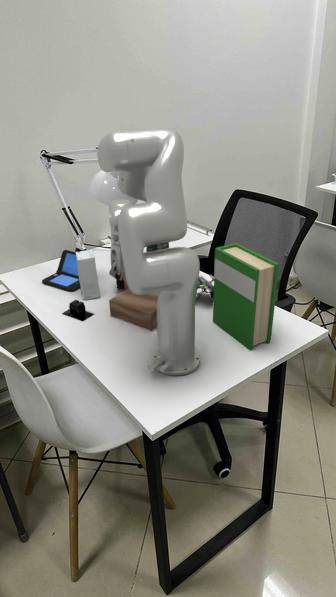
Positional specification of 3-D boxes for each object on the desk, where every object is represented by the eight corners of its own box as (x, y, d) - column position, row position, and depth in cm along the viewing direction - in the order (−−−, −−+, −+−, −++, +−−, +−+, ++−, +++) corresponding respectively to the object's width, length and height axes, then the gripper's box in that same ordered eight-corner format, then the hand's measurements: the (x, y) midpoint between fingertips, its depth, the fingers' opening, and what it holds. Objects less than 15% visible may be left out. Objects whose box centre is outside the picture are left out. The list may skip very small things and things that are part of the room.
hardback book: (270, 342, 121) (279, 263, 109) (249, 350, 117) (256, 270, 106) (232, 315, 134) (236, 243, 123) (212, 322, 131) (215, 248, 120)
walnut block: (151, 331, 127) (150, 314, 125) (110, 317, 136) (109, 300, 133) (180, 309, 139) (180, 292, 136) (141, 297, 147) (140, 281, 144)
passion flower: (211, 313, 146) (230, 294, 138) (186, 317, 140) (203, 297, 132) (198, 285, 151) (215, 265, 142) (173, 288, 145) (189, 267, 136)
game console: (40, 284, 157) (36, 261, 153) (66, 270, 168) (63, 248, 163) (72, 293, 150) (68, 270, 146) (97, 279, 160) (95, 256, 156)
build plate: (100, 315, 137) (99, 303, 135) (84, 326, 132) (82, 313, 129) (72, 305, 143) (70, 293, 141) (55, 315, 138) (53, 302, 136)
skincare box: (100, 298, 146) (96, 257, 139) (82, 300, 145) (77, 259, 138) (97, 287, 153) (93, 248, 146) (80, 290, 152) (75, 250, 145)
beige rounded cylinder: (127, 291, 150) (126, 277, 147) (116, 288, 153) (114, 274, 150) (136, 286, 154) (135, 272, 151) (125, 282, 156) (124, 268, 154)
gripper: (113, 247, 136) (118, 298, 145) (147, 232, 148) (149, 279, 157) (96, 242, 140) (101, 292, 149) (130, 228, 152) (133, 275, 161)
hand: (126, 285), depth 153 cm, fingers closed on beige rounded cylinder, 5 cm apart
